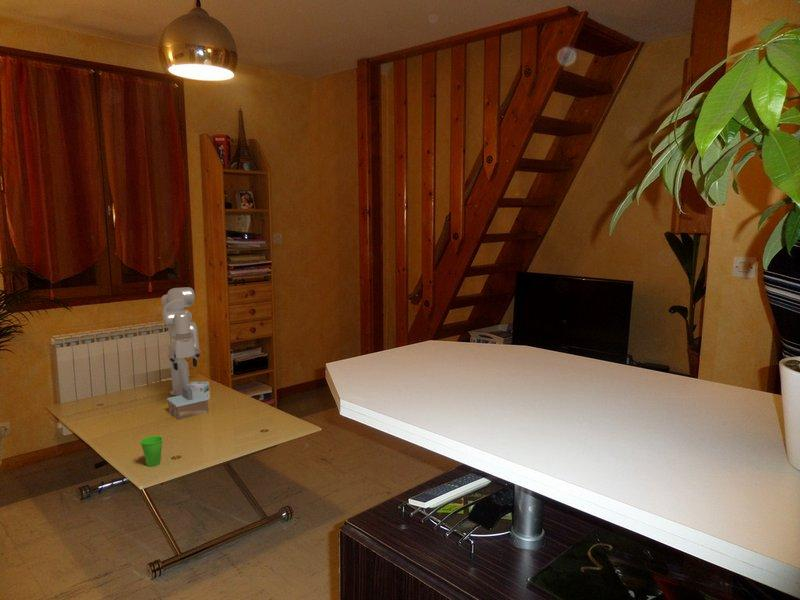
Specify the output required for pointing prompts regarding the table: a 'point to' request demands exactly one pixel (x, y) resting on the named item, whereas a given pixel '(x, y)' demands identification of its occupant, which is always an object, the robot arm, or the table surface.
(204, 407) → the crate
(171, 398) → the lid
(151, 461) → the cup
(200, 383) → the light bulb box
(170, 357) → the robot arm
